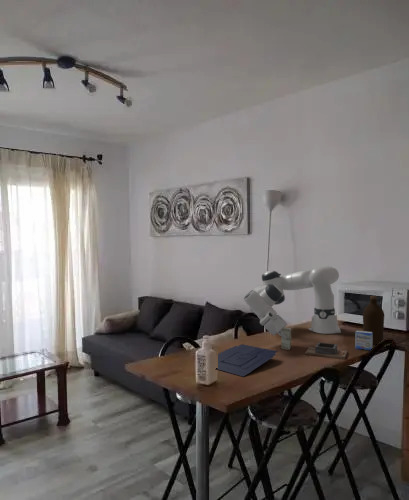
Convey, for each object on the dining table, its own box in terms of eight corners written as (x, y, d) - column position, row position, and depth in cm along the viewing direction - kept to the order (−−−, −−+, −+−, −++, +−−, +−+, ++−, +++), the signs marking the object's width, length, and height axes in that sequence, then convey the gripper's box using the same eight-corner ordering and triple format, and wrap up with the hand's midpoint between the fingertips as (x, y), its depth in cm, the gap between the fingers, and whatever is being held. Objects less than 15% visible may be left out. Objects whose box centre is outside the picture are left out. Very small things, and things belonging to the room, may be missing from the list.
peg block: (283, 347, 206) (283, 327, 206) (291, 347, 205) (291, 328, 204) (281, 348, 203) (281, 329, 202) (289, 349, 201) (289, 329, 201)
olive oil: (378, 346, 205) (378, 298, 205) (358, 342, 214) (358, 296, 213) (388, 343, 212) (388, 296, 212) (369, 339, 220) (369, 294, 220)
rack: (309, 348, 203) (309, 340, 202) (347, 352, 195) (347, 344, 195) (305, 354, 192) (305, 346, 192) (344, 359, 184) (344, 350, 184)
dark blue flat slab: (281, 357, 183) (281, 350, 183) (244, 383, 161) (243, 374, 160) (239, 348, 199) (238, 341, 199) (199, 370, 177) (198, 362, 176)
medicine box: (355, 348, 202) (355, 331, 202) (356, 346, 206) (356, 330, 206) (371, 350, 198) (371, 333, 198) (372, 348, 202) (372, 331, 202)
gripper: (270, 316, 218) (287, 336, 214) (258, 324, 199) (278, 345, 195) (278, 309, 216) (296, 328, 212) (267, 315, 197) (287, 337, 193)
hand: (287, 336), depth 203 cm, fingers closed on peg block, 4 cm apart
